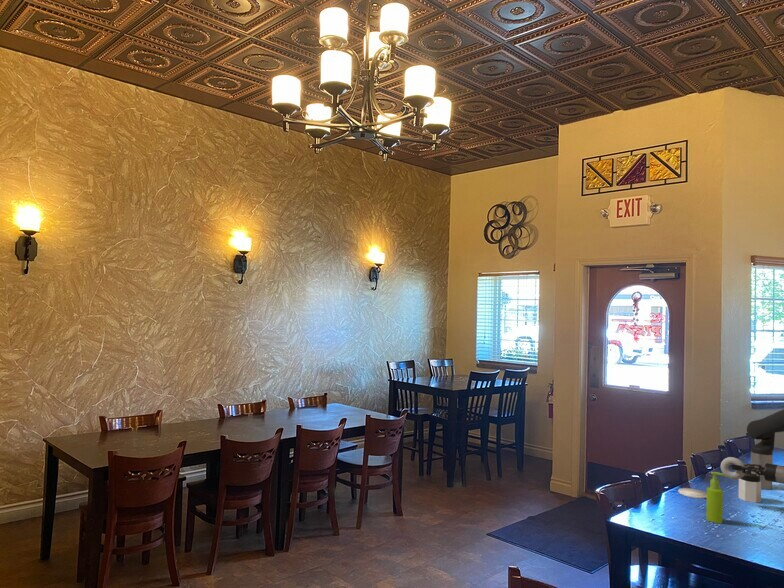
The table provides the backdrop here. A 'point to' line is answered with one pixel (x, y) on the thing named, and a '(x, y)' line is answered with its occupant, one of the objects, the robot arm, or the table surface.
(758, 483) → the jar
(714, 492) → the soap dispenser
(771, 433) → the robot arm
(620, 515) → the table surface
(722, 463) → the donut
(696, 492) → the plate
